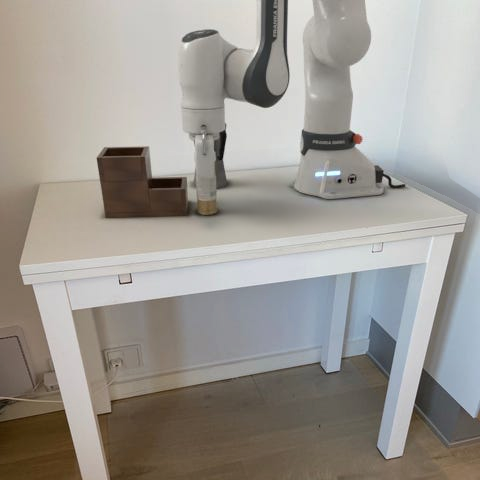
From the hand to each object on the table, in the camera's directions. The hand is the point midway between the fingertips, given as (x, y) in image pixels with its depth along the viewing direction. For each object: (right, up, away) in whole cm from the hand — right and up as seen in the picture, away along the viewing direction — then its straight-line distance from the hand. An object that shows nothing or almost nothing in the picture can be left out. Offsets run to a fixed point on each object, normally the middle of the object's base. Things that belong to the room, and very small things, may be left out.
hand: (206, 187), depth 109 cm
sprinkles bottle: (0, -5, +3) cm, 6 cm away
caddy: (-14, -4, +5) cm, 15 cm away
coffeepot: (0, +6, +21) cm, 22 cm away
